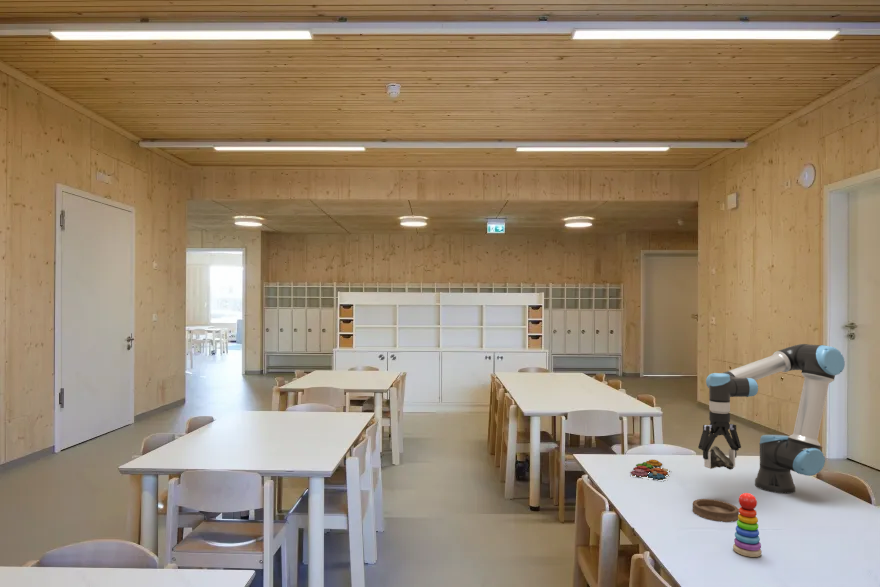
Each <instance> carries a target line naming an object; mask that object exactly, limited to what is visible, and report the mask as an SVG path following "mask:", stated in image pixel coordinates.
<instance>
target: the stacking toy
mask: <svg viewBox="0 0 880 587" xmlns="http://www.w3.org/2000/svg"><path fill="white" fill-rule="evenodd" d="M738 502H739V505H740V507H739V508H738V509H739V515H738V520H736V526H735V532H734V537H735V538H734V542H733V545H732V549H733V550H734V552H735V553H737V554H739V555H741V556H744V557H750V558H758V557H760V556H761V555H762V550H761V548H762V544H761V542H760V540H761V538H760V536H759V535H760V531H759V524H758V522H759V519H758V517H757V514H758V513H757V510H756V509H755V508H756V507H757V505H758V501H757V498H756V497H755V496H754V495H753V494H752V493H749V492H744V493H742V494H740V495H739V498H738Z"/></svg>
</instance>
